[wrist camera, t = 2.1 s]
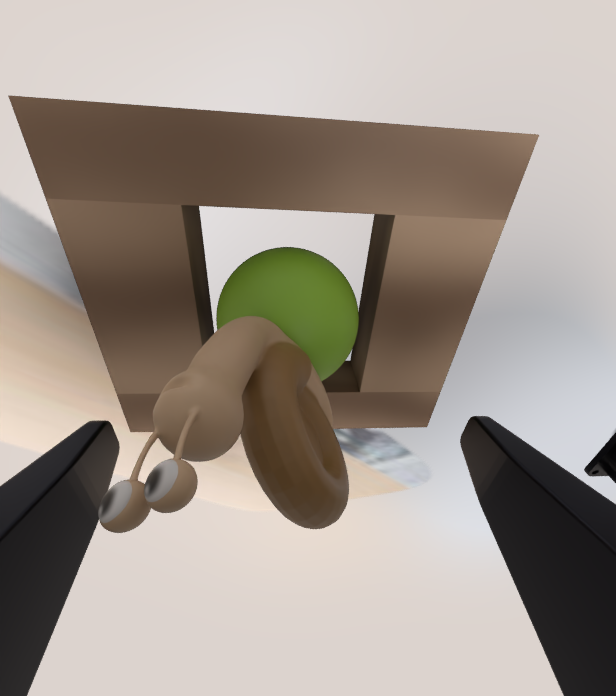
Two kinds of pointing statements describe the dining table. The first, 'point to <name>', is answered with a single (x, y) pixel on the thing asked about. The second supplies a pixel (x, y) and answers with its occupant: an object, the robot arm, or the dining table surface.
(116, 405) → the dining table surface
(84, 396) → the dining table surface
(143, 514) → the snail figurine
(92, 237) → the block
